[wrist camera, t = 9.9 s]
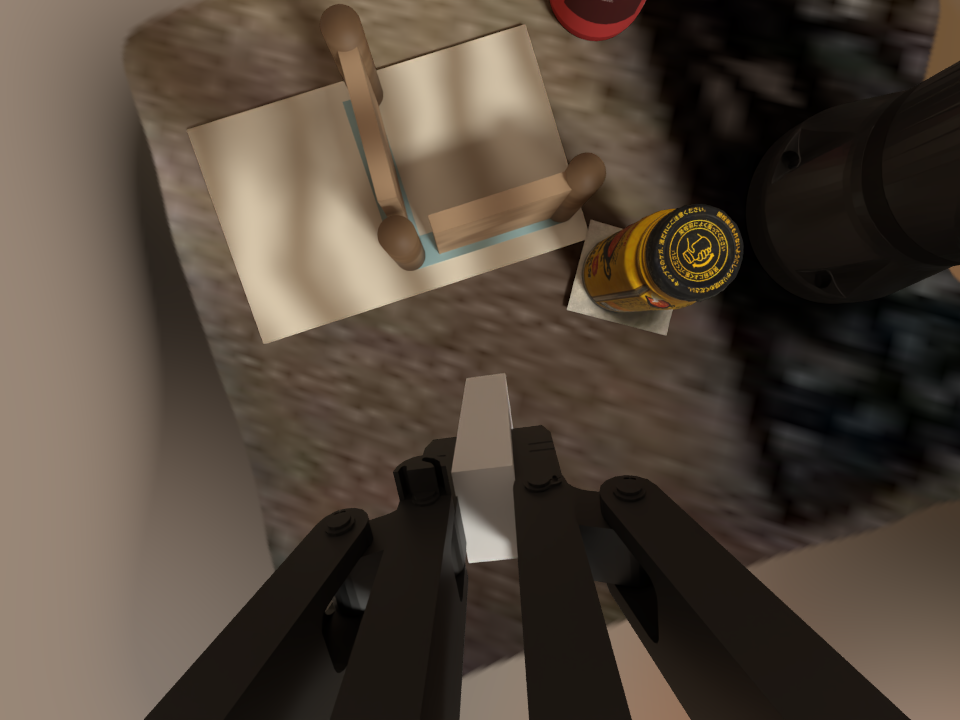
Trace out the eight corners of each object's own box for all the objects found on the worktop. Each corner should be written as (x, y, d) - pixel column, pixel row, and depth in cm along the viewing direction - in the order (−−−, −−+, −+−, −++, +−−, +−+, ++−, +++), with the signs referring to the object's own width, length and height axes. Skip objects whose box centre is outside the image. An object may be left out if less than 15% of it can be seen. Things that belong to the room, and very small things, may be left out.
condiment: (589, 220, 35) (659, 170, 23) (689, 247, 36) (806, 213, 24) (565, 309, 36) (622, 306, 24) (664, 335, 36) (766, 344, 25)
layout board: (524, 27, 35) (525, 23, 34) (589, 238, 36) (590, 237, 35) (189, 132, 34) (186, 129, 34) (265, 343, 35) (263, 343, 35)
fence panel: (417, 223, 34) (405, 191, 27) (387, 230, 34) (366, 201, 27) (378, 74, 34) (355, 0, 26) (347, 81, 34) (315, 9, 26)
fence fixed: (400, 274, 35) (383, 258, 27) (390, 245, 35) (371, 220, 27) (579, 217, 35) (610, 185, 28) (569, 187, 35) (599, 147, 28)
